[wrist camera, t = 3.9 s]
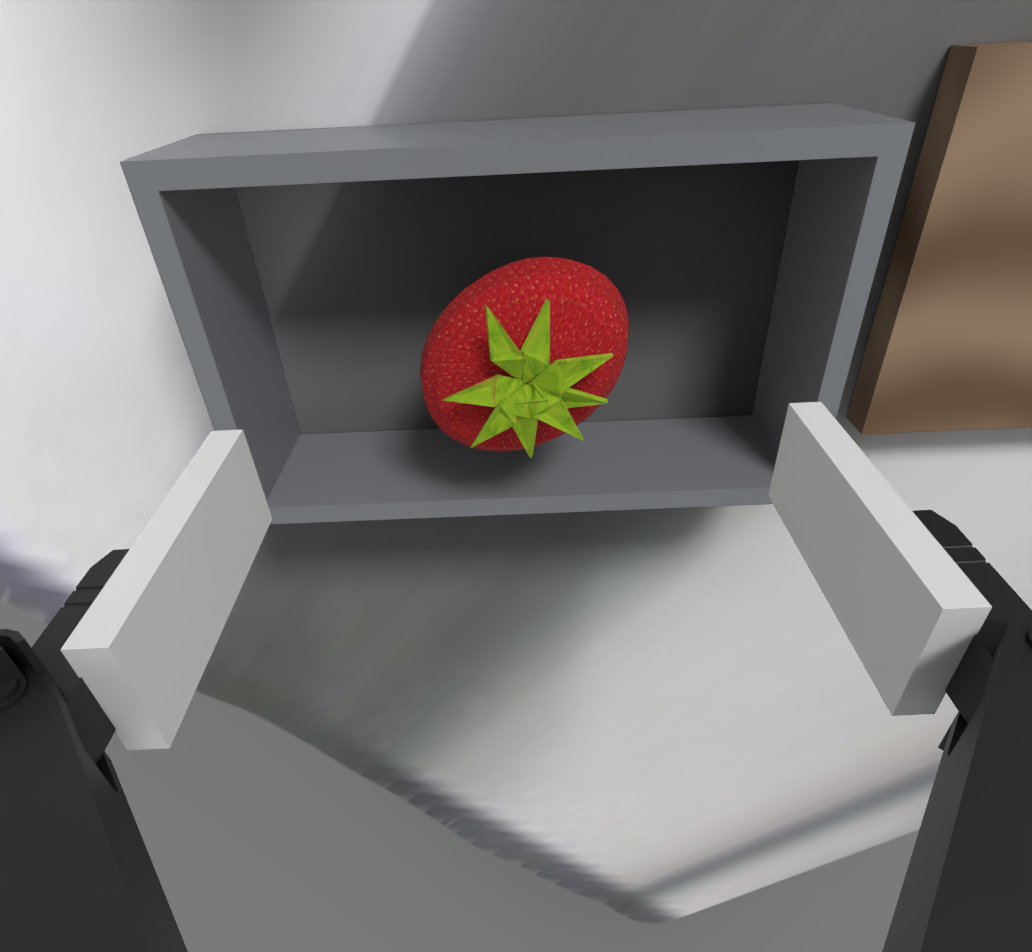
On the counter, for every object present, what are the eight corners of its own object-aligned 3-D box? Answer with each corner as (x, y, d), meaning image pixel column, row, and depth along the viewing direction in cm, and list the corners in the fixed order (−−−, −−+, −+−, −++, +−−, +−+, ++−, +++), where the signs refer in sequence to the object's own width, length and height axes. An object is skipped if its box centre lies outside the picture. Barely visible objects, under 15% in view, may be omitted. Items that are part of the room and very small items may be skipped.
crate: (766, 429, 30) (813, 502, 25) (287, 449, 30) (248, 525, 26) (832, 103, 22) (915, 122, 18) (197, 134, 23) (119, 161, 18)
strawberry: (400, 301, 26) (351, 427, 18) (553, 176, 24) (577, 257, 15) (492, 404, 29) (487, 555, 21) (638, 302, 26) (698, 428, 18)
